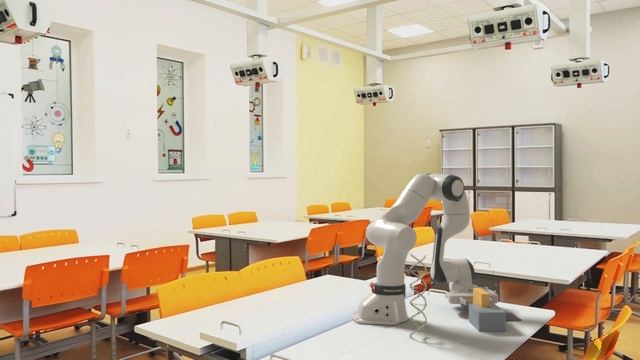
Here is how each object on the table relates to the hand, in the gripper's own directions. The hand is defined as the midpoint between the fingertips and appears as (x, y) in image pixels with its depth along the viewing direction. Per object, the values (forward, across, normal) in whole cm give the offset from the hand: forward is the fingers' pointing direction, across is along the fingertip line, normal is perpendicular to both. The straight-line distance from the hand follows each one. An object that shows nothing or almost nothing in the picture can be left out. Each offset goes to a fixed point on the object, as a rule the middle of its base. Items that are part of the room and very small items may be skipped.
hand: (478, 302), depth 207 cm
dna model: (+21, -29, +7) cm, 37 cm away
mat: (-2, +11, +6) cm, 13 cm away
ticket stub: (+3, 0, +6) cm, 7 cm away
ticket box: (+9, 0, +6) cm, 11 cm away
